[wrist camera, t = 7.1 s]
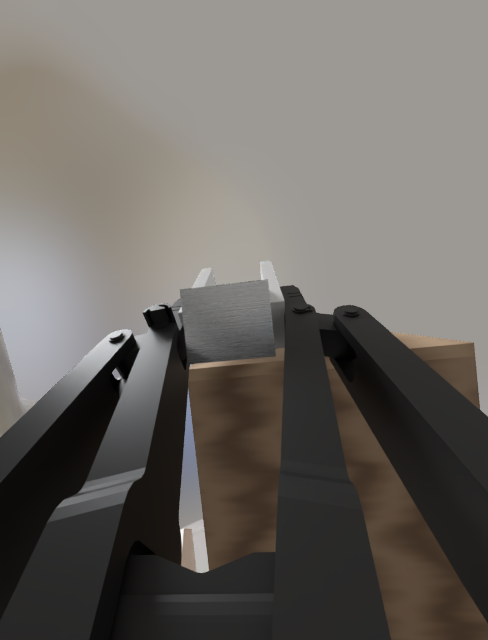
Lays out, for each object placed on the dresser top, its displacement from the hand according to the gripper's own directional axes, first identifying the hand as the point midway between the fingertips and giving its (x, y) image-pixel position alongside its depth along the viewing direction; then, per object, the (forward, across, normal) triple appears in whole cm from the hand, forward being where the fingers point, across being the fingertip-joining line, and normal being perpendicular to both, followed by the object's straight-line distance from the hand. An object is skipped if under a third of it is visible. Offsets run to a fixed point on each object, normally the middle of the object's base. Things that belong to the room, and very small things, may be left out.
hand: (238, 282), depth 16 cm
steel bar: (+1, 0, -5) cm, 5 cm away
